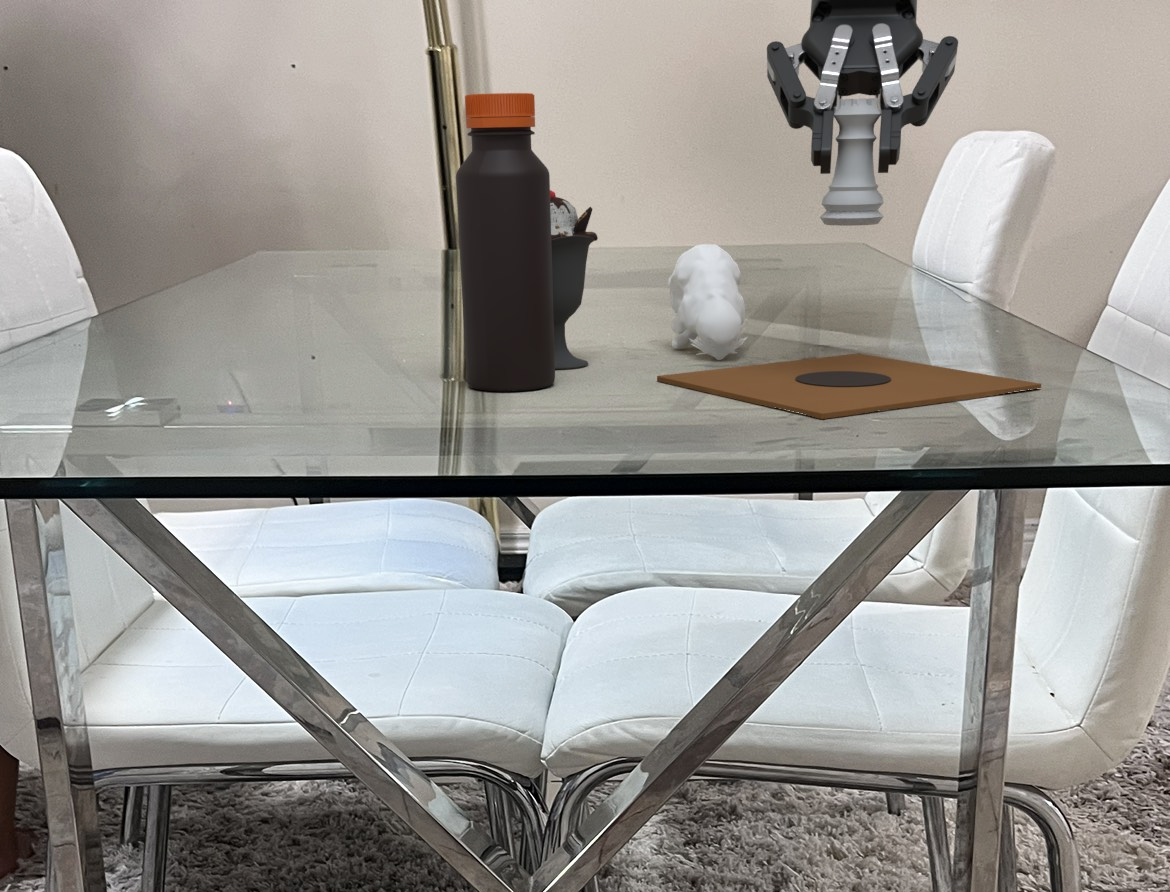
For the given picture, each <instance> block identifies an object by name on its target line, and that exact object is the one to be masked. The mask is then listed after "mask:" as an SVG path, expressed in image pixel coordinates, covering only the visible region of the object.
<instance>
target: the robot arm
mask: <svg viewBox="0 0 1170 892" xmlns="http://www.w3.org/2000/svg"><path fill="white" fill-rule="evenodd" d="M810 4H811V6H810V17H809V27H808V29H807V30H806V31H805V33H804V34H803V36H802V38H801V42H799V43H796V44H794V45H791V46H788V47H785V45H784V44H783V43H782V42H781V41H777V40H776V41H771V42H770V43H768V45H767V46H766V77H767V79H768V82H769V84H770V86H771V88H772V91H773V94H774V95H775V97H776V100H777V102H778V104H779V106H780V109H781V110H782V111H781V112H782V113H783V115H784V117H785V119H786V122H787V124H788V126H789V127H790V128H792V129H795V130H798V129H801V128H803V127H807V128H809V129H810V130H811V142H810V143H811V145H810V161H811V163H812V166H813V167H820V174H819V175H829V174H831V172H832V171H831V170H832V154H833V137H834V120H835V117H834V116H833V115H834V113H835V112H836V111H837V109H838V108H839V101H840V99H844V97H850V96H853V95H859V94H860V95H864V96H874V98H877V105H876V106H877V108H878V109H879V111H880V112H881V116H880V125H879V126H880V127H879V142H878V167H877V173H878V174H888V173H889V167H890V166H896V165H897V163H898V162H899V160H900V154H901V144H902V143H901V142H902V141H901V140H902V129H903V128H904V127H905V126H907V125H909V124H910V125H911V126H914V127H922V126H924V125H925V124H927V122H928V120H929V118H930V117H931V115H932V113H933V111H934V109H935V108H936V106H937V104H938V102H939V100H940V99H941V97H942V95H943V93H944V92H945V90H946V88H947V86H948V84H949V83H950V80H951V79H952V77H953V75H954V74H955V69H956V63H957V55H958V47H959V39H957V38H956V37H955V36H952V35H947V36H944V37H942V38H941V40H940V42H936V41H932V40H928V39H925V38H924V34H923V31H922V30H921V29H920V27H919V26H918V24H917V12H918V11H917V10H918V9H917V8H918V7H917V6H918V0H811V3H810ZM918 61H920V62H921V63H922V65H921V72H922V74H921V76H920V77H919V79H918V81H917V83H916V84H915V86H914V88H913V90H912V92H911V93H908V94H905V95H903V91H902V87H901V82H900V79H901V78H902V77H903V76H904V75H906V73H907V72H908V71H909V70H910V69H911V68H912V67H913V66H914V65H915V64H916V63H917V62H918ZM802 64H804V66H806V68H807V69H808V70H809V71H810V72H811V73H812V74H813V75H814V76H815V78H817V79H818V80H819V86H818V88H817V91H816V94H815V97H811V96H808V95H807V93H806V90H805V88H804V86H803V84H802V82H801V79H800V78H799V75H800V66H801V65H802Z"/></svg>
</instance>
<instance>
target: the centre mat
mask: <svg viewBox="0 0 1170 892" xmlns="http://www.w3.org/2000/svg"><path fill="white" fill-rule="evenodd" d="M656 382H659V383H664V384H669V385H672V386H676V387H681V388H684V389H689V390H693V391H697V392H703V393H707V394H711V395H715V396H720V397H725V398H728V399H733V400H737V401H741V402H745V403H750V404H754V405H758V406H762V405H764V406H763V407H767V406H769V407H768V408H771V407H776V408H781V409H786V410H790V411H794V412H799V413H803V414H806V415H809V416H808V417H810V416H812V417H811V418H814V417H815V419H819V420H826V419H834V418H835V419H836V418H841V417H842V418H843V417H849V416H856V415H863V414H862V413H865V414H869V413H868V412H872V413H874V412H873V411H878V410H886V411H888V410H887V409H894V410H898V409H897V408H901V409H908V408H914V407H916V408H917V407H923V406H930V405H938V404H943V403H953V402H957V401H966V400H973V399H981V398H987V397H986V396H989V397H994V396H993V395H996V396H1000V395H999V394H1003V395H1006V394H1005V393H1008V392H1014V391H1020V390H1028V389H1029V390H1030V389H1037V388H1041V389H1042V383H1038V382H1034V381H1033V382H1032V381H1027V380H1020V379H1016V378H1009V377H1004V376H998V375H997V376H996V375H991V374H985V373H979V372H973V371H969V370H962V369H956V368H950V367H943V366H938V365H931V364H925V363H921V362H914V361H908V360H902V359H895V358H891V357H884V356H878V355H871V354H867V353H861V352H859V353H849V354H848V353H847V354H840V355H831V356H822V357H814V358H803V359H796V360H795V359H794V360H787V361H779V362H778V361H777V362H768V363H760V364H759V363H758V364H752V365H751V364H750V365H742V366H733V367H724V368H714V369H706V370H697V371H689V372H688V371H687V372H681V373H670V374H662V375H661V374H660V375H657V376H656ZM980 397H981V398H980ZM937 403H938V404H937ZM806 415H805V416H806Z"/></svg>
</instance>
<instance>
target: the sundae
mask: <svg viewBox="0 0 1170 892" xmlns="http://www.w3.org/2000/svg"><path fill="white" fill-rule="evenodd" d="M550 211H551V247H552V284H553V321H554V358H555V371H556V370H573V369H579V368H585V367H587V366H588V365H589V362H588V361H587V360H586V359H585V360H584V359H582V358H579V357H576V356H574V355H573V353H571V351H570V350H569V348H568V345H567V340H566V339H567V338H566V323H567V321H569V319H570V318H571V317H572V316H573V315H575V313H576V312H577V311H578V309H579V308H580V306H581V305H582V301H583V295H584V289H585V281H586V270H587V260H588V256H589V255H588V254H589V248H590V245H591V244H592V243H593V242H597V241H598V237H599V236H598V235H597V233H596V232H595V231H586V230H587V228H588V225H589V222H590V219H591V216H592V213H593V208H592V206H589V207H588V208H587V209H586V210H585V211H584V212H583V213H582V214H581V215H580V216H579V217H578V213H577V208H576V207H575V206H574V205H573V204H571V202H570V201H568V200H567V199H564V198H562V197H557V196H556V192H555V191H553V190H551V189H550Z"/></svg>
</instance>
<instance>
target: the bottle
mask: <svg viewBox="0 0 1170 892" xmlns="http://www.w3.org/2000/svg"><path fill="white" fill-rule="evenodd" d="M535 102H536V101H535V94H534V93H532V92H531V93H530V92H498V93H497V92H496V93H472V94H471V93H470V94H466V95H464V105H465V106H464V108H465V126H466V129H470V132H467V137H471V138H470V139H471V151H470V153H469V154H468V155H467V157H466V159H465V160H464V161H463V162H462V164H461V165H460V166H459V168H458V169H457V171H456V174H455V188H456V189H455V190H456V204H457V205H456V207H457V209H456V210H457V224H458V226H457V227H458V244H459V247H458V248H459V263H460V264H459V265H460V281H461V282H460V283H461V284H460V285H461V301H462V316H463V317H462V319H463V341H464V358H465V359H464V361H465V375H466V377H465V378H466V384H467V385H468V386H469V387H470V388H472V389H474V390H478V391H485V392H501V393H502V392H503V393H504V392H505V393H506V392H507V393H509V392H526V391H535V390H540V389H544V388H548V387H550V386H552V385H553V384H554V383H555V379H556V370H555V358H554V321H553V284H552V247H551V211H550V190H551V181H550V179H551V178H550V177H551V176H550V171H549V168H548V167H547V166H546V164H545V163H543V161H542V160H541V159H540V158H539V157H538V155H536V153H535V152H534V151H533V150H532V136H533V135H535V134H536V133H535V131H534V130H532V128H536V107H535V105H536V103H535Z"/></svg>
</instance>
